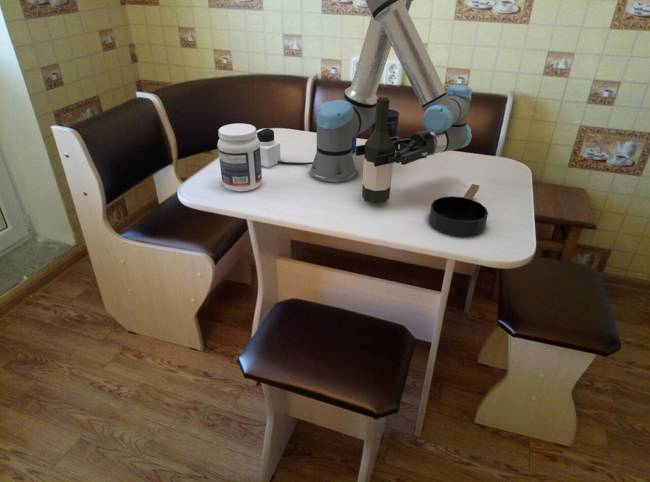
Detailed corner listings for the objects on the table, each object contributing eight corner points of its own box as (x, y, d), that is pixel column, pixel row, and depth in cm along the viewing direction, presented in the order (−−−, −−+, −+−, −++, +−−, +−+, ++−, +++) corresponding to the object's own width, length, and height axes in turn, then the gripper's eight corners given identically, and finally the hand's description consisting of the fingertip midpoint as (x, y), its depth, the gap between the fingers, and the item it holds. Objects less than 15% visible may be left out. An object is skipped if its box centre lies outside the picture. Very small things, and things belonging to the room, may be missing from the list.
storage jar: (365, 153, 171) (368, 114, 163) (374, 145, 179) (377, 107, 171) (391, 158, 168) (395, 118, 160) (398, 149, 175) (402, 111, 167)
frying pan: (476, 242, 118) (480, 227, 116) (421, 227, 125) (423, 213, 122) (497, 203, 138) (501, 189, 135) (449, 192, 144) (451, 178, 141)
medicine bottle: (281, 161, 163) (279, 129, 157) (268, 168, 158) (266, 134, 152) (265, 157, 166) (263, 125, 160) (252, 163, 161) (250, 130, 155)
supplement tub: (245, 173, 154) (241, 119, 145) (270, 184, 147) (267, 129, 137) (214, 184, 146) (207, 128, 137) (238, 197, 139) (233, 139, 129)
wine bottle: (388, 205, 132) (398, 101, 116) (360, 202, 134) (365, 99, 118) (390, 192, 139) (400, 93, 123) (363, 190, 141) (369, 91, 125)
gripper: (450, 166, 131) (387, 182, 121) (404, 144, 147) (344, 156, 137) (454, 141, 127) (389, 155, 117) (406, 121, 143) (345, 132, 133)
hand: (365, 156), depth 127 cm, fingers closed on wine bottle, 8 cm apart
